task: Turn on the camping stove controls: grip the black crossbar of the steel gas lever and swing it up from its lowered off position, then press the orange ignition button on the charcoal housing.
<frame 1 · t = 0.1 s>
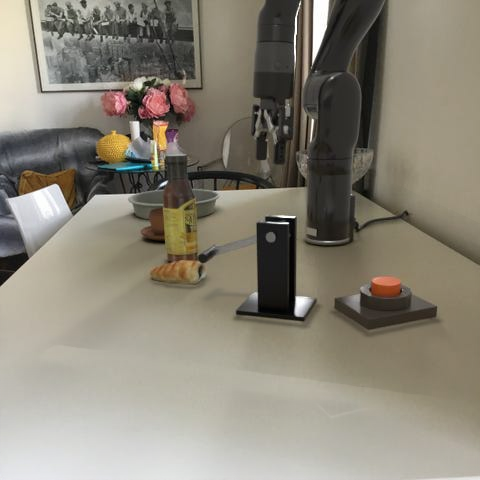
hand: (269, 162, 110), 17 cm above the table, tool pointing down, fingers open, 8 cm apart
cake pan: (175, 213, 154), on the table
pastry: (181, 283, 98), on the table
gas lever: (244, 242, 81), point 10 cm above the table, hinge at -20.0°
ignition button: (385, 286, 79), point 4 cm above the table, slide at 0.1 cm
sauce bottle: (183, 261, 110), on the table
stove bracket: (277, 312, 83), on the table
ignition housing: (383, 316, 81), on the table
cup and saucer: (168, 238, 127), on the table
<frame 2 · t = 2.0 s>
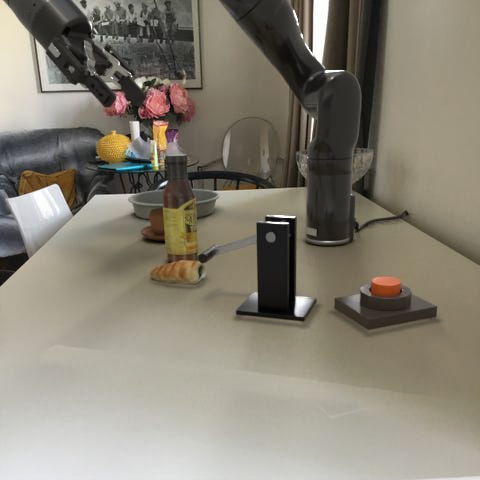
hand: (128, 102, 81), 29 cm above the table, tool tilted 45°, fingers open, 8 cm apart
nothing on the table moved.
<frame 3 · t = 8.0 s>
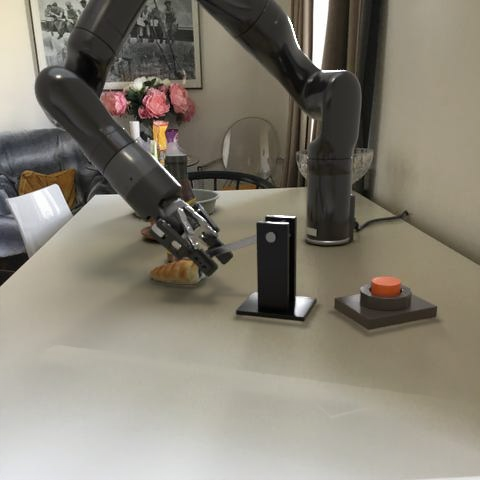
hand: (221, 266, 84), 6 cm above the table, tool tilted 45°, fingers closed on gas lever, 5 cm apart
gas lever: (244, 242, 81), point 10 cm above the table, hinge at -20.1°, touching gripper
everything else where it was.
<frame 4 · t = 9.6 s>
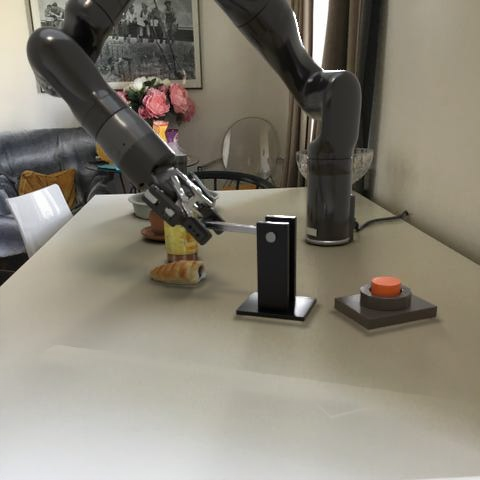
hand: (215, 235, 82), 11 cm above the table, tool tilted 45°, fingers closed on gas lever, 5 cm apart
gas lever: (242, 228, 80), point 12 cm above the table, hinge at 3.0°, touching gripper
everything else where it was.
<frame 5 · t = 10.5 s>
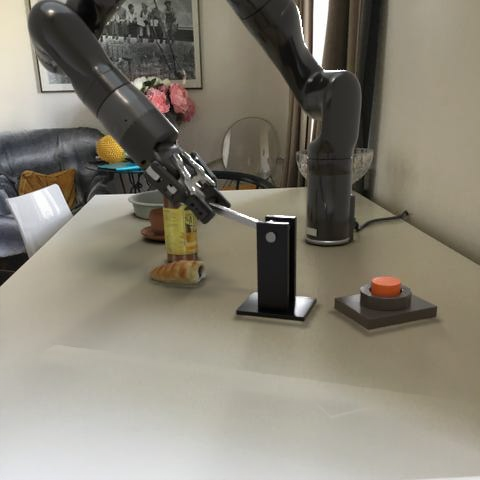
hand: (218, 214, 81), 14 cm above the table, tool tilted 45°, fingers closed on gas lever, 5 cm apart
gas lever: (243, 219, 80), point 14 cm above the table, hinge at 18.3°, touching gripper
everything else where it was.
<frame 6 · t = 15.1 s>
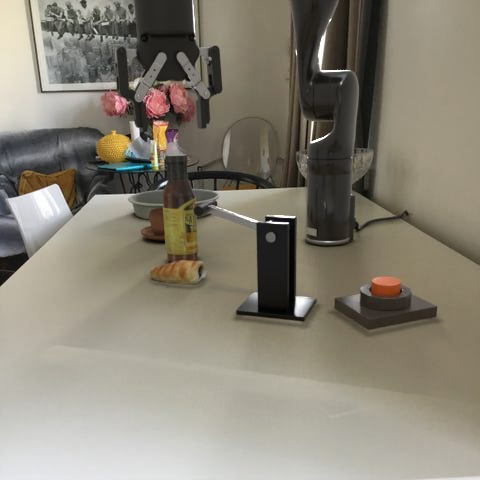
hand: (173, 130, 78), 26 cm above the table, tool pointing down, fingers open, 8 cm apart
gas lever: (243, 220, 80), point 13 cm above the table, hinge at 16.2°
everything else where it was.
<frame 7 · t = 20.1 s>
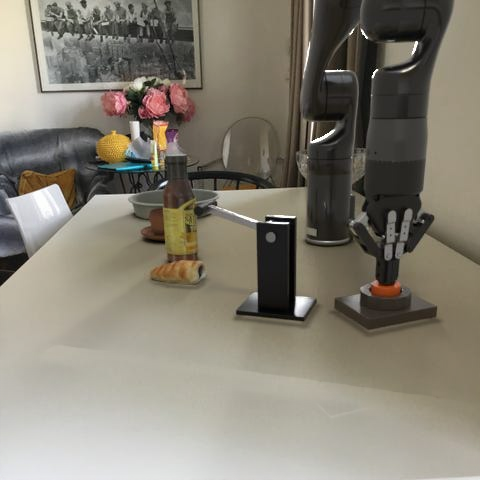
hand: (386, 283, 79), 5 cm above the table, tool pointing down, fingers closed
ignition button: (385, 289, 79), point 4 cm above the table, slide at -0.3 cm, touching gripper
everything else where it was.
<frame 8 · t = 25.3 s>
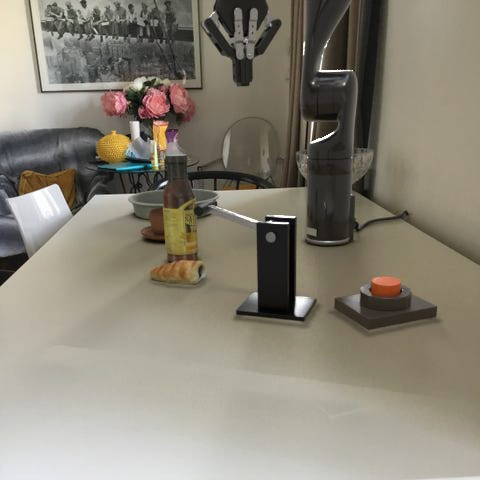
hand: (243, 86, 89), 31 cm above the table, tool pointing down, fingers closed
ignition button: (385, 286, 79), point 4 cm above the table, slide at 0.1 cm
everything else where it was.
at the end: gas lever at +16° (first picture: -20°); ignition button pushed in 1.1 cm at the most during the clip, back to where it started at the end; ignition button slide at 0.1 cm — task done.
